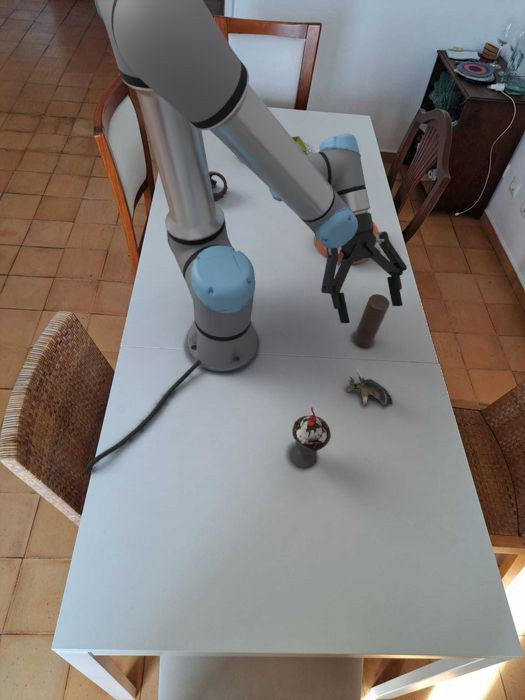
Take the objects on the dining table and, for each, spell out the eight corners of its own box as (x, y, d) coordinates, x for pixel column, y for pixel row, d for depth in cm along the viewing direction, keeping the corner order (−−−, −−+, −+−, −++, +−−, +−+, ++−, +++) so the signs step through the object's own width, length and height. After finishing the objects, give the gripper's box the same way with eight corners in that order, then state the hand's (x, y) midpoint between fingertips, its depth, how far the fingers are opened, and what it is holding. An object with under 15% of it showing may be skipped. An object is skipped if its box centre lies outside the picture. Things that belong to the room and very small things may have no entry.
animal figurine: (345, 409, 92) (391, 416, 90) (348, 376, 90) (395, 382, 88) (347, 394, 99) (390, 400, 97) (351, 363, 97) (394, 369, 95)
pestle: (371, 349, 103) (388, 312, 93) (352, 344, 104) (367, 306, 93) (373, 335, 106) (390, 297, 95) (355, 330, 106) (370, 291, 96)
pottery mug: (225, 185, 136) (231, 172, 129) (220, 214, 135) (227, 202, 127) (185, 174, 133) (190, 159, 125) (180, 204, 131) (184, 190, 124)
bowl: (368, 272, 118) (374, 256, 114) (307, 257, 120) (311, 240, 116) (376, 234, 128) (382, 218, 124) (320, 220, 130) (324, 204, 125)
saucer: (274, 143, 152) (275, 137, 150) (298, 141, 154) (299, 135, 152) (282, 158, 147) (283, 152, 146) (307, 155, 149) (308, 149, 148)
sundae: (298, 432, 89) (311, 393, 77) (326, 454, 87) (344, 417, 75) (278, 456, 86) (288, 419, 74) (306, 479, 84) (321, 445, 72)
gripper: (390, 206, 102) (407, 298, 106) (291, 230, 94) (313, 329, 98) (412, 200, 95) (429, 299, 99) (307, 225, 87) (330, 331, 91)
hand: (371, 314), depth 99 cm, fingers open, 13 cm apart
